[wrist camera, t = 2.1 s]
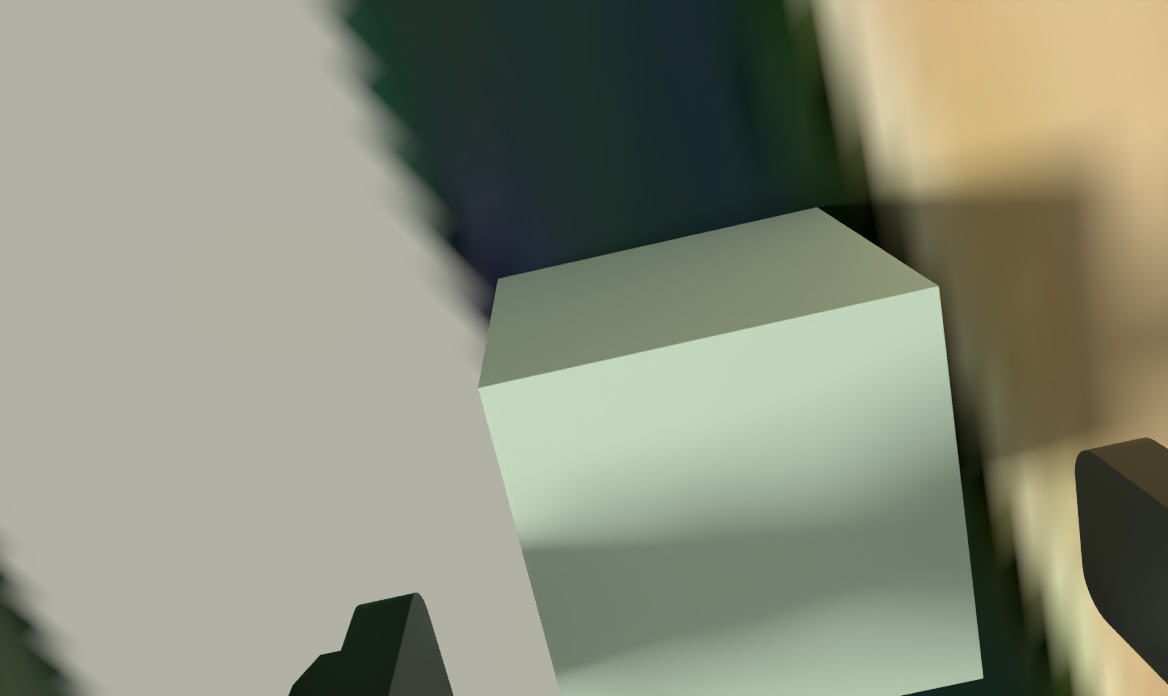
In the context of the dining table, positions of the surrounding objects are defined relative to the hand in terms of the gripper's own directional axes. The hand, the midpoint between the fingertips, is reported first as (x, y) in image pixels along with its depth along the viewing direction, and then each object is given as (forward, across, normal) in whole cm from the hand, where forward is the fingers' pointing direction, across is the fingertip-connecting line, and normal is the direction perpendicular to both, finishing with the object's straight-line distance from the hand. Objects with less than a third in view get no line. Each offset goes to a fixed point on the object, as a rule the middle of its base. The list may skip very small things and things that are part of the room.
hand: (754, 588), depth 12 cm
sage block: (+6, 0, 0) cm, 6 cm away
